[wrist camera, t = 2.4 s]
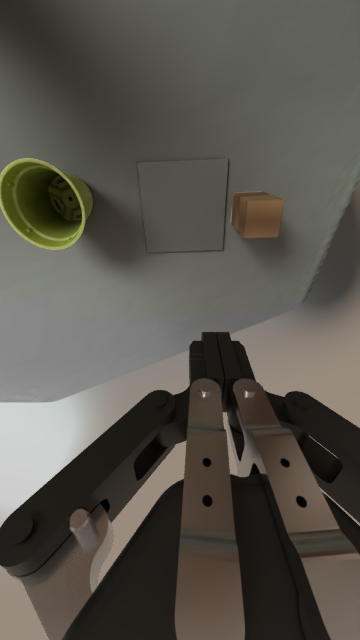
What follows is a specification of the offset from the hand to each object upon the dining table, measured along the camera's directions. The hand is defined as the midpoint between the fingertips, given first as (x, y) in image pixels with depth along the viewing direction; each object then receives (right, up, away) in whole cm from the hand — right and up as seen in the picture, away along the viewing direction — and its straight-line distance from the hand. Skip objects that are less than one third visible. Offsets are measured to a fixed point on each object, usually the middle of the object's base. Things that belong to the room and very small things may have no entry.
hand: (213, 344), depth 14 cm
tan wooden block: (+8, +18, +21) cm, 29 cm away
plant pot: (-17, +19, +21) cm, 33 cm away
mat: (-1, +17, +21) cm, 28 cm away
